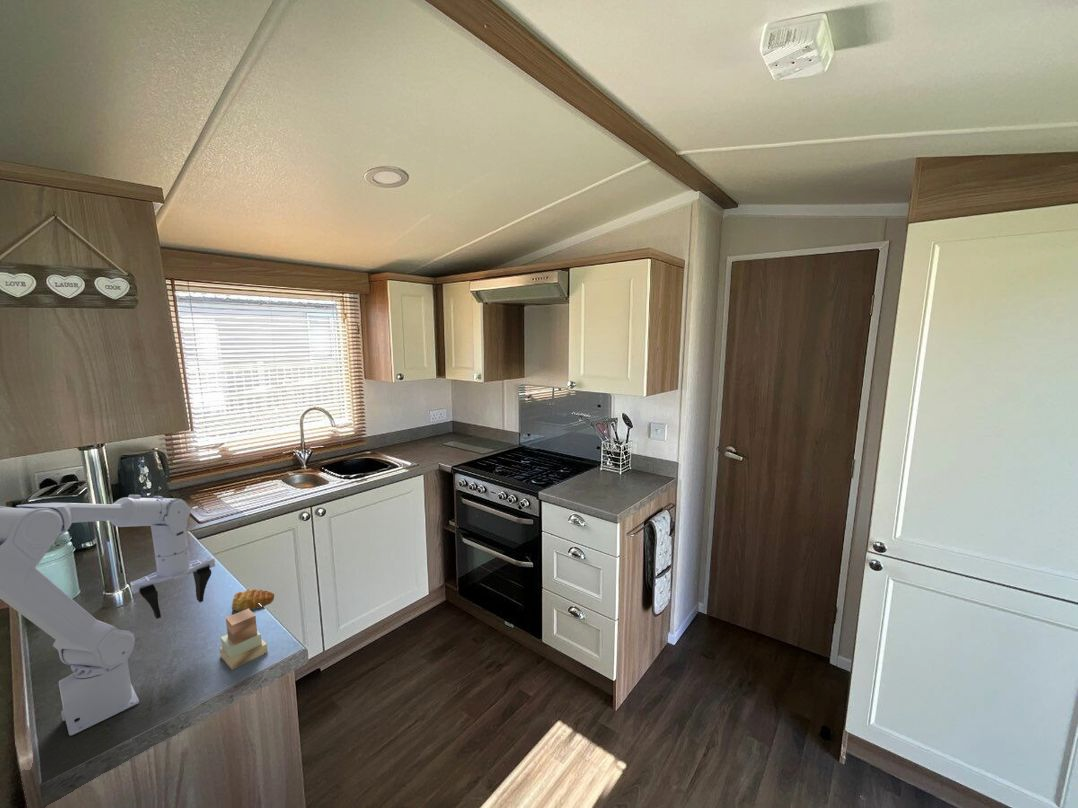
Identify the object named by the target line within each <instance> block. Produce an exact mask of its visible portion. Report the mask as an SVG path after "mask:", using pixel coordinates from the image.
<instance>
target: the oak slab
mask: <svg viewBox="0 0 1078 808" xmlns="http://www.w3.org/2000/svg"><path fill="white" fill-rule="evenodd" d="M261 640H262V645H259V646H257V647H255V648H253V649H251V650H249V651H247V652H245V653H243V654H241V655H238V656H236V657H234V658H232V659H231V658H230V657H229V656H228V654H227V653H226V652H225V651H224V649H223V648H222V646H221V647H219V655H220V657H221V659H222V660H223V661H224V662H225V664H227V666H228V668H230V669H231V670H232V671H233V670H235V669H236V668H238V667H241V666H243V665H245V664H247V663H249V662H251V661H253V660H255V659H257V658H258V657H261V656H262V655H265V654H267V653H268V645H267V643H266V642H265V641H264V640H263V639H262V638H261ZM264 653H265V654H264Z"/></svg>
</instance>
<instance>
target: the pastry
mask: <svg viewBox="0 0 1078 808" xmlns="http://www.w3.org/2000/svg"><path fill="white" fill-rule="evenodd" d="M274 601H275V594H274V593H273V592H271V591H268V590H263V589H260V590H259V589H258V590H257V589H255V588H254V589H252V590H249V589H247V590H244V592H243V591H238V592H236V594H235V595H234V598H233V599H232V602H231V603H232V604H231V610H232V611H235V612H236V613H239V612H241V611H244V610H246V609H250V610H251V611H253V610H255V609H256V610H257V609H260V608H263V607H266V606H268V605H271V603H273V602H274ZM258 603H260V604H261V605H262V606H263V607H261V606H260V605H259V604H258Z"/></svg>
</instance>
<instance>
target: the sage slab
mask: <svg viewBox="0 0 1078 808" xmlns="http://www.w3.org/2000/svg"><path fill="white" fill-rule="evenodd" d="M261 639H262V634H261V633H260V631H259V630H257V635H255V636H253V637H251V638H248V639H246V640H244V641H241V642H239V643H237V644H235V645H234V644H233V643H232V641H231V640H230V639H229V637H228V633H227V634H225V635H222V636H220V643H221V647H222V648H223V649H224V651H225V652H226V653H227V654H228V656H229V657H230V658H231V659H232V658H234V657H236V656H238V655H241V654H243V653H245V652H247V651H249V650H251V649H253V648H255V647H257V646H259V645H262V640H263V639H262V640H261Z"/></svg>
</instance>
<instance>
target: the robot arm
mask: <svg viewBox="0 0 1078 808" xmlns="http://www.w3.org/2000/svg"><path fill="white" fill-rule="evenodd" d="M191 510H192V507H191V506H189V505H188V503H187V502H186V501H185V500H183V499H181V498H174V497H173V498H170V497H169V498H167V497H164V496H162V495H153V496H152V497H142V496H141V495H140V494H129V495H128V496H127V497H126V496H125V497H121V498H119V499H117V500H115V501H114V502H113V503H111V504H109V503H85V502H83V503H82V502H81V503H80V502H42V503H41V502H40V503H25V504H18V505H16V507H11V506H5V505H4V506H3V505H0V600H1V601H3V602H4V603H5V604H7V605H8V606H10V607H11V608H12V609H14V610H15V611H16V612H18V613H19V614H21V615H22V616H23V617H24V618H25V619H27V620H28V621H30V622H31V623H32V624H34V625H35V626H36V627H38V628H39V629H40V630H42V631H43V632H44V633H46V634H47V635H49V636H51V637H50V638H53V639H54V642H53V644H52V647H54V649H56V651H57V652H58V655H59V659H60V660H59V661H60V662H62V663H63V664H65V665H69V666H70V668H71V669H70V670H71V671H72V672H73V673H71V674H70V675H68V676H66V677H64V678H61V679H60V680H59V681H58V687H59V692H60V693H59V694H60V698H61V703H62V710H61V711H60V713H61V717H62V718H61V719H62V721H63V722H65V724H66V728H67V731H68V732H67V733H68V735H69V736H74V735H76V734H78V733H80V732H82V731H84V730H86V729H89V728H91V727H92V726H95V725H97V724H99V723H101V722H103V721H105V720H107V719H109V718H111V717H113V716H115V715H117V714H120V713H122V712H124V711H126V710H127V709H130V708H131V707H134V706H136V705H138V704H139V703H140V699H139V697H138V695H137V692H136V691H135V689H134V687H133V685H132V683H131V676H130V670H129V663H128V659H130V656H131V654H132V652H133V650H134V648H135V645H136V637H135V635H134V633H133V632H132V631H129V630H123V629H122V630H120V629H118V628H117V627H116V626H114V625H111V624H109V623H106V622H103V621H101V620H99V619H97V618H95V617H94V616H93V615H92V614H90V613H89V612H88V611H87V610H86V609H85V608H83V607H82V606H81V605H80V604H78V603H77V602H76V601H75V600H74V599H72V597H71V596H70V595H68V594H66V592H65V591H63V590H62V589H61V588H59V587H58V586H57V585H56V584H55V583H54V582H53V581H51V580H50V579H49V578H48V577H47V576H45V575H44V574H43V573H42V572H40V571H39V570H38V568H37V567H36V566H38V565H39V564H40V563H41V561H42V560H43V558H44V557H45V555H46V554H47V552H48V551H49V549H50V547H52V545H53V544H54V542H55V541H56V540H57V538H58V536H59V535H60V533H61V532H67V531H68V530H69V529H70V527H71V526H72V524H74V523H75V524H76V523H88V522H89V523H90V522H91V523H92V522H104V521H105V522H107V521H109V522H110V523H111V524H112V525H113V526H114V527H117V528H123V527H124V528H126V527H127V528H128V527H149V526H150V529H151V538H152V543H153V551H154V558H155V559H154V560H155V564H156V571H155V572H153V573H150V574H148V575H145V576H143V577H141V578H139V579H136V580H133V581H130V582H129V584H130V589H131V590H130V591H131V592H132V594H137V593H139V594H140V596H141V597H143V599H145V601H146V602H147V603H148V604H149V606H150V608H151V609H152V612H153V615H154V617H155V619H160V618H162V617H161V616H162V614H161V610H160V606H159V596H158V595H159V592H158V591H157V589H156V586H157V585H160V584H163V583H166V582H169V581H172V580H178V579H181V578H184V577H186V575H190V574H192V575H193V579H194V584H195V585H194V586H195V596H196V600H197V601H198V602H199V603H202V602H204V596H205V590H206V588H207V584H208V582H209V580H210V577H211V576H212V570H211V568H214V567H216V562H215V557H213V556H209V557H204V558H200V559H195V560H190V552H189V544H188V536H187V527H188V519H189V518H190V517H189V516H190V515H191Z"/></svg>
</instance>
